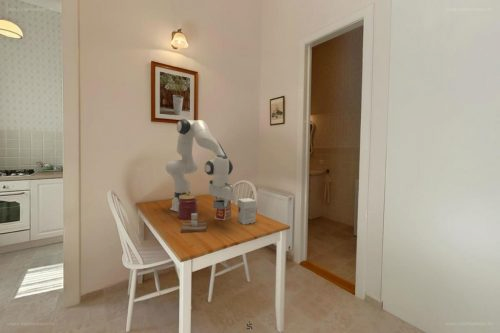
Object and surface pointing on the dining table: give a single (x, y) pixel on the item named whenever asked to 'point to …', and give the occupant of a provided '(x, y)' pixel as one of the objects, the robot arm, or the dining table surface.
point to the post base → (193, 229)
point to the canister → (187, 206)
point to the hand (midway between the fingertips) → (220, 204)
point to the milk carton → (224, 212)
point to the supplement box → (246, 210)
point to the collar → (219, 204)
